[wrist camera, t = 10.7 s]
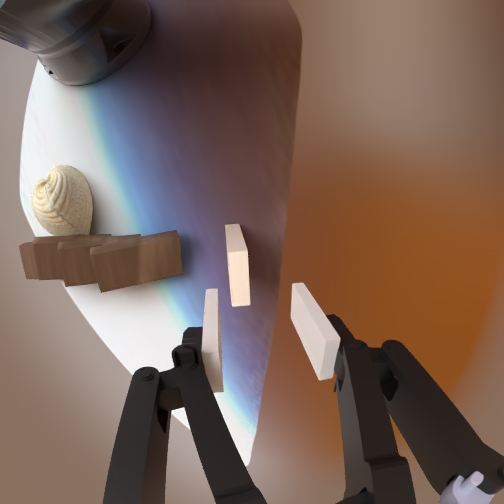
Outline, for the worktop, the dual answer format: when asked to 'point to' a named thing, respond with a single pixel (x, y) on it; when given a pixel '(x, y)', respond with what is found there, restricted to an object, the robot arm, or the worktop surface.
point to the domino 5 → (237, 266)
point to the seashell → (63, 202)
